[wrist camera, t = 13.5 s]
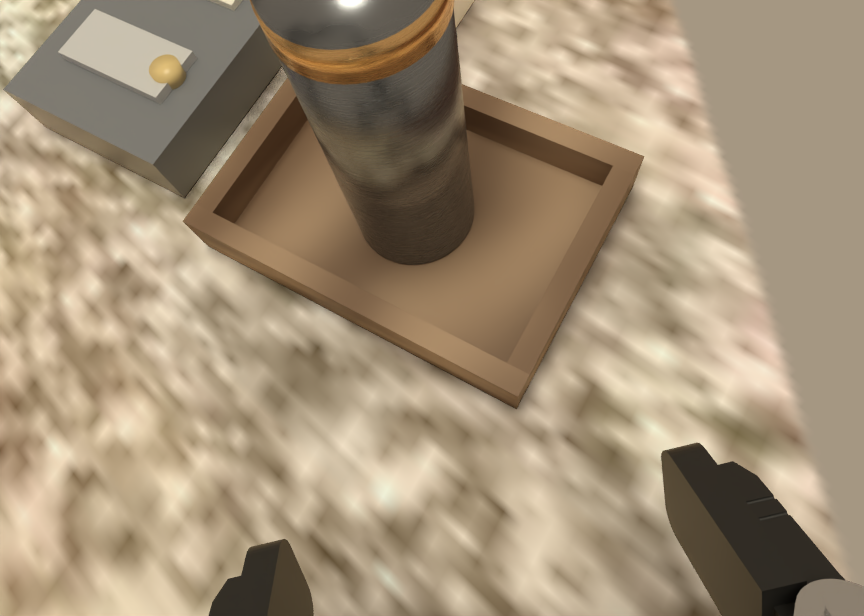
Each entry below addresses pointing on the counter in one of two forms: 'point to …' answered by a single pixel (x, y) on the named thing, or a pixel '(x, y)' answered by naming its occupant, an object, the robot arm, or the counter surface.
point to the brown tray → (450, 275)
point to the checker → (150, 81)
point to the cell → (383, 114)
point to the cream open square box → (461, 9)
